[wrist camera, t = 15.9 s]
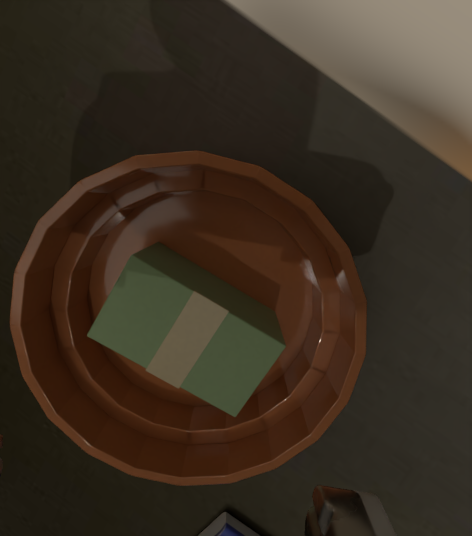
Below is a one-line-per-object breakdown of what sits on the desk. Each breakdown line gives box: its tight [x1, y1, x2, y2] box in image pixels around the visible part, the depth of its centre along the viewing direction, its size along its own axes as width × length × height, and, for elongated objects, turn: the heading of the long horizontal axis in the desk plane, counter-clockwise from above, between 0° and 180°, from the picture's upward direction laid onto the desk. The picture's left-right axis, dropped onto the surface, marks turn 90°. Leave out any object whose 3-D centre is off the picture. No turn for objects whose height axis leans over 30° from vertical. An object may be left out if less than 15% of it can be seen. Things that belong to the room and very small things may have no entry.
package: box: [87, 242, 286, 417], centre depth 18 cm, size 5×9×5 cm, turn 58°
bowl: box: [10, 150, 367, 486], centre depth 18 cm, size 18×18×6 cm
